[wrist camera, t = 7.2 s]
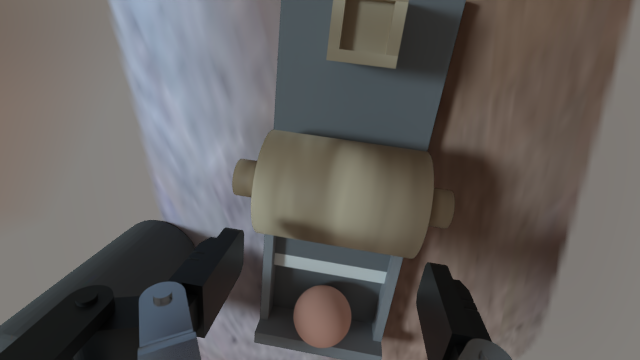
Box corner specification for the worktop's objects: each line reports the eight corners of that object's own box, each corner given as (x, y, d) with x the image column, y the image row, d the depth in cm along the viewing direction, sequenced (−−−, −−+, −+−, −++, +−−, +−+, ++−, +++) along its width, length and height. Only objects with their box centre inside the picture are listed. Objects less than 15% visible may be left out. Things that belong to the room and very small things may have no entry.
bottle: (115, 222, 24) (-220, 451, 10) (184, 215, 23) (-86, 459, 9) (143, 284, 26) (-105, 545, 12) (207, 280, 25) (16, 560, 11)
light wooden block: (342, -3, 17) (335, -21, 12) (399, 4, 16) (411, -12, 12) (334, 58, 18) (326, 60, 14) (387, 65, 17) (395, 68, 13)
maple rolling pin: (254, 200, 21) (218, 248, 16) (257, 116, 19) (216, 140, 14) (424, 228, 20) (446, 288, 15) (448, 143, 18) (483, 180, 13)
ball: (300, 290, 25) (299, 272, 21) (351, 299, 24) (357, 282, 21) (289, 346, 22) (285, 335, 19) (344, 357, 22) (351, 348, 19)
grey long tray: (287, -20, 17) (271, -34, 14) (460, -1, 16) (481, -12, 13) (266, 310, 25) (254, 342, 23) (377, 331, 25) (379, 366, 22)
